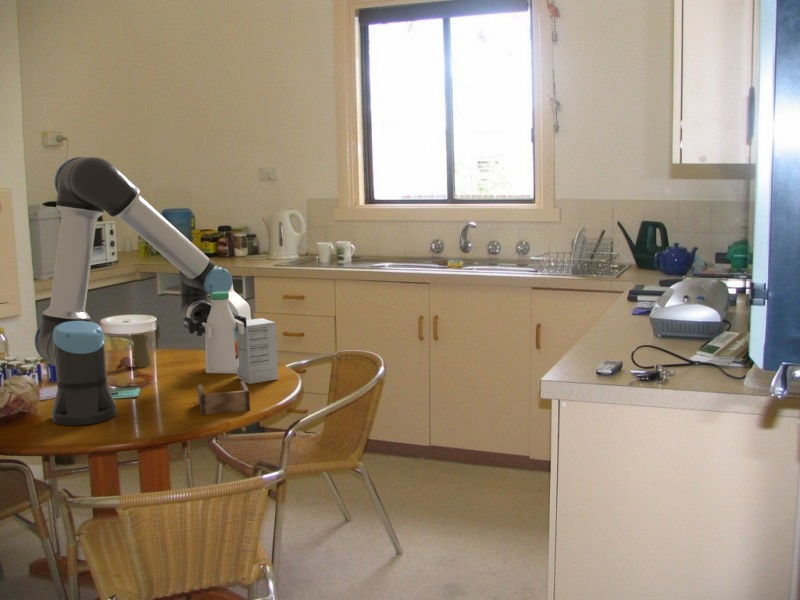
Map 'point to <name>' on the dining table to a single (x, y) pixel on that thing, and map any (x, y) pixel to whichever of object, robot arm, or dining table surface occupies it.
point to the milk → (238, 308)
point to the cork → (141, 350)
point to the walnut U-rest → (224, 401)
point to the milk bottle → (222, 335)
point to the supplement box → (258, 352)
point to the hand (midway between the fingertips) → (226, 330)
